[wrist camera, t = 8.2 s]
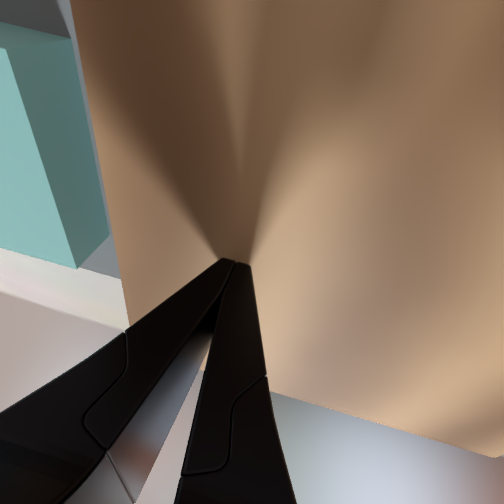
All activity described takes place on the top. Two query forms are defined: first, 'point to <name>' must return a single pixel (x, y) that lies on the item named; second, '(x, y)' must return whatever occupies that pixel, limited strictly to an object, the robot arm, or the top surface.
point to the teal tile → (46, 152)
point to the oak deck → (319, 188)
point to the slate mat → (61, 23)
